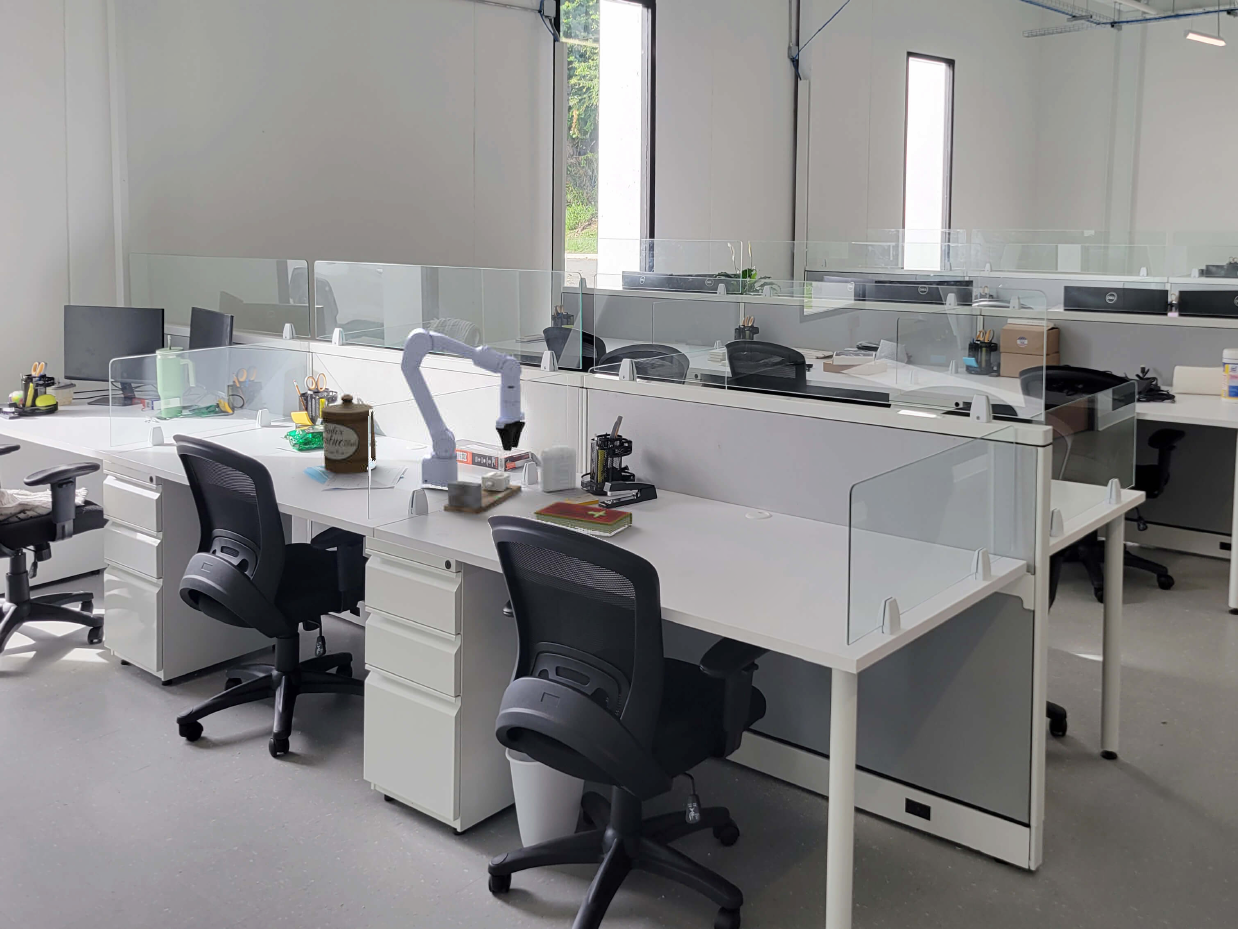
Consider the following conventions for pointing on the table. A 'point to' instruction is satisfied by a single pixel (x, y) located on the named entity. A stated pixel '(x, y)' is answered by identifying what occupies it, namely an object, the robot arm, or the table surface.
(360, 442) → the wooden container
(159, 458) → the table surface
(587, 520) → the hardcover book
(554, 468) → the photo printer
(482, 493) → the test bench
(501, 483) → the gauge
